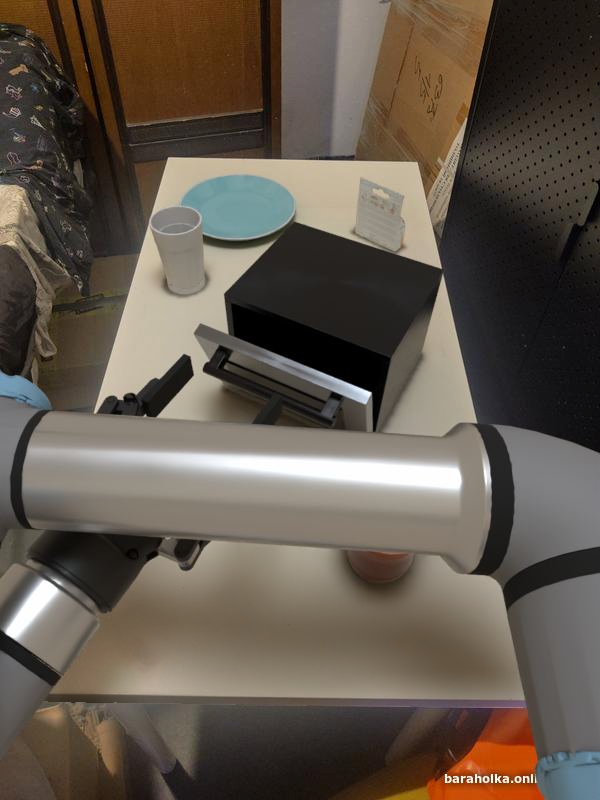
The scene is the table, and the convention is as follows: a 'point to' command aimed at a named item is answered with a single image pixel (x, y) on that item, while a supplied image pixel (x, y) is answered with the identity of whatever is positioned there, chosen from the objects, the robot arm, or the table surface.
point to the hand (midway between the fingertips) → (232, 383)
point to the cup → (180, 247)
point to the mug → (379, 565)
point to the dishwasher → (337, 310)
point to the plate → (240, 206)
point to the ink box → (380, 216)
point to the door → (285, 383)
